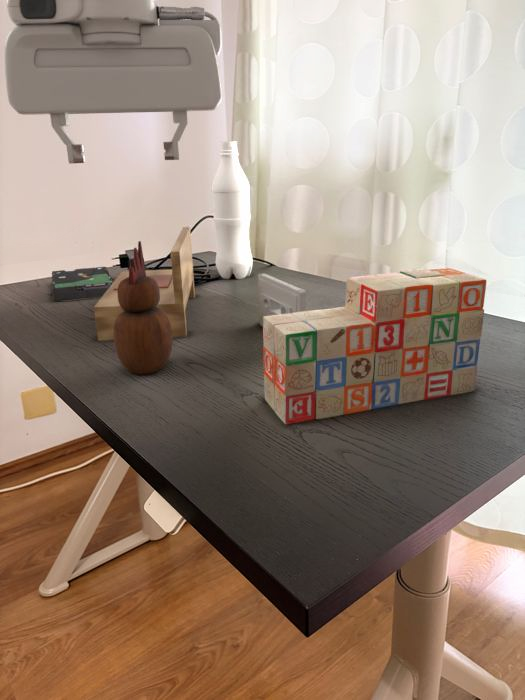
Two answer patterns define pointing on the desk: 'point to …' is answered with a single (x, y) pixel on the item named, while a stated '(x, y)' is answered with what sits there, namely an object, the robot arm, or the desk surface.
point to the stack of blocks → (376, 345)
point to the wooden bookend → (172, 289)
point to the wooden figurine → (141, 322)
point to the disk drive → (80, 283)
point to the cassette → (278, 297)
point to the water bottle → (231, 215)
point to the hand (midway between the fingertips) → (125, 161)
